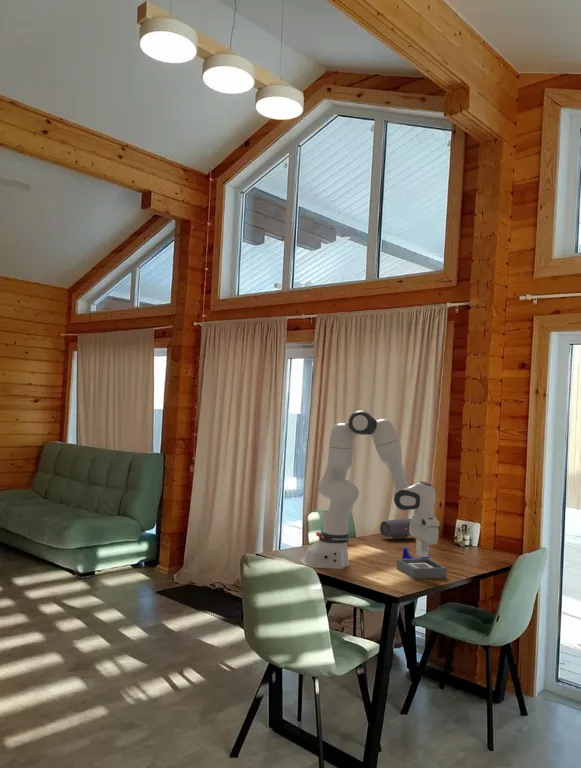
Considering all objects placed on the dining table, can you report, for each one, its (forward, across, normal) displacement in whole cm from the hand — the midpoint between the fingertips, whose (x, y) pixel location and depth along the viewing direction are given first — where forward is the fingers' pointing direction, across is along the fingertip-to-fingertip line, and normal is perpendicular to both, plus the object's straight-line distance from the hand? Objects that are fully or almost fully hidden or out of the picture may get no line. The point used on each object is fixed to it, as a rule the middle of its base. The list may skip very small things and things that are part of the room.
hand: (422, 549), depth 290 cm
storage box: (+11, 0, 0) cm, 11 cm away
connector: (+3, 0, 0) cm, 3 cm away
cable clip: (+12, -21, +8) cm, 25 cm away
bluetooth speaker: (+11, -71, +25) cm, 76 cm away
